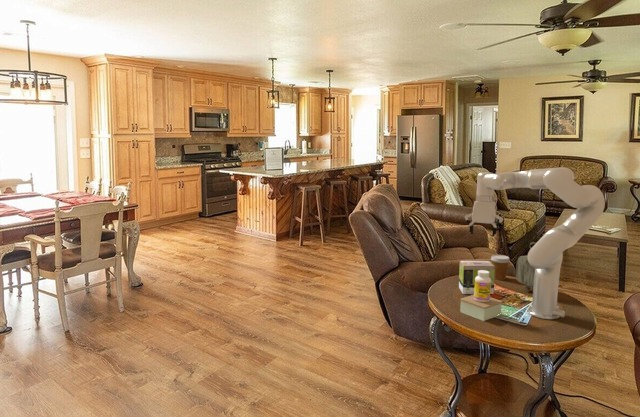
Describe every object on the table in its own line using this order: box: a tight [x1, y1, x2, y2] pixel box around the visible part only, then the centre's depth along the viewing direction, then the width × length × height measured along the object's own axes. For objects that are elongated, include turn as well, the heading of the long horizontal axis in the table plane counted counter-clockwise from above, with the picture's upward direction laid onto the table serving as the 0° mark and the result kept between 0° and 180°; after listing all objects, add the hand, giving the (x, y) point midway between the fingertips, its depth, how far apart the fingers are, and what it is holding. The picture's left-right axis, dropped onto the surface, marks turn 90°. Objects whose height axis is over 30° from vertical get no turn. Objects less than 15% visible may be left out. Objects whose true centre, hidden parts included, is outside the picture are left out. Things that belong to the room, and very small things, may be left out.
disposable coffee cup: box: [490, 254, 511, 281], centre depth 246 cm, size 10×10×12 cm
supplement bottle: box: [473, 270, 491, 302], centre depth 196 cm, size 7×7×13 cm
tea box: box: [458, 260, 496, 295], centre depth 225 cm, size 15×10×15 cm, turn 84°
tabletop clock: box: [515, 241, 537, 293], centre depth 223 cm, size 14×9×25 cm, turn 20°
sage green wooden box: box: [459, 294, 503, 322], centre depth 198 cm, size 12×12×6 cm
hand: (482, 234), depth 215 cm, fingers open, 9 cm apart
